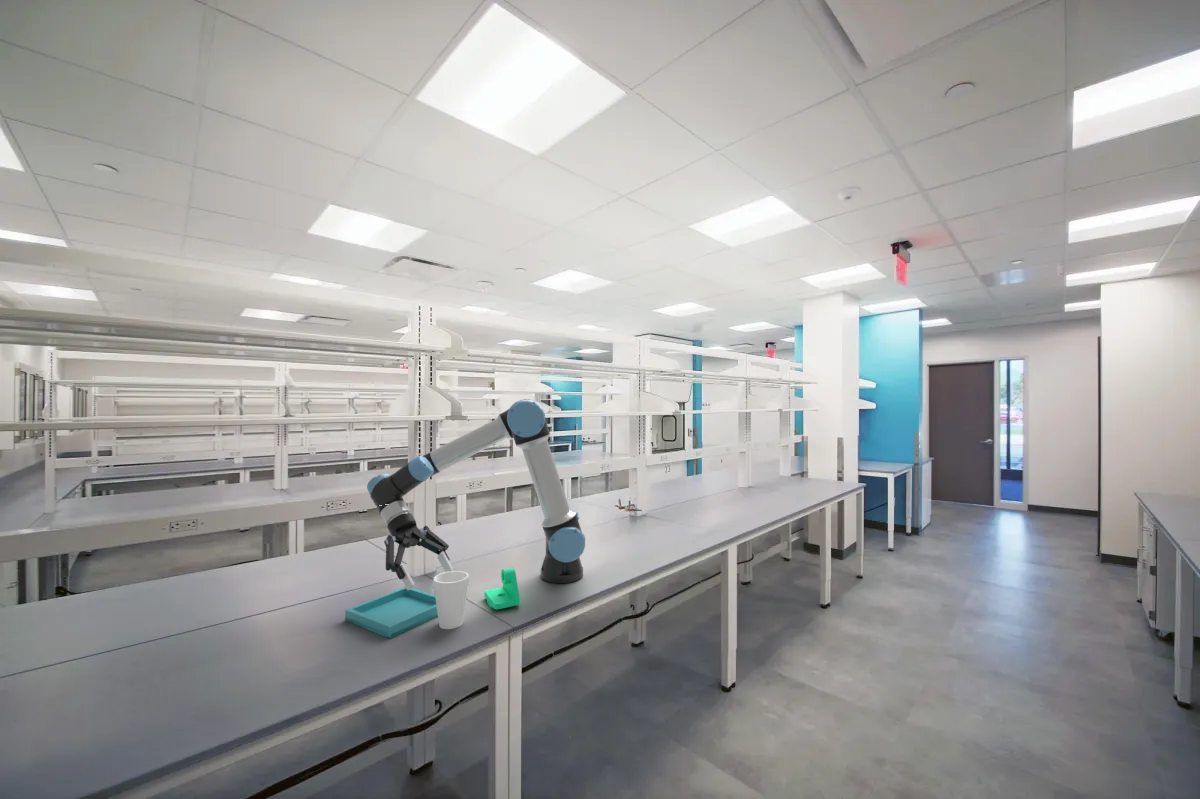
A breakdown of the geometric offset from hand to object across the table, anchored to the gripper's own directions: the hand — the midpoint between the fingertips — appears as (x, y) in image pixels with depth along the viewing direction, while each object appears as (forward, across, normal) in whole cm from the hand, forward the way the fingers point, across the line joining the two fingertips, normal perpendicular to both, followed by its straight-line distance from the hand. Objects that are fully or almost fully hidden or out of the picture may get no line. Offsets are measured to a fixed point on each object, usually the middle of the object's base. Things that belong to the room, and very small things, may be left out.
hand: (431, 579), depth 133 cm
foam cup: (+13, -1, -3) cm, 13 cm away
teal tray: (+1, +3, -15) cm, 15 cm away
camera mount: (+15, -18, -1) cm, 24 cm away
